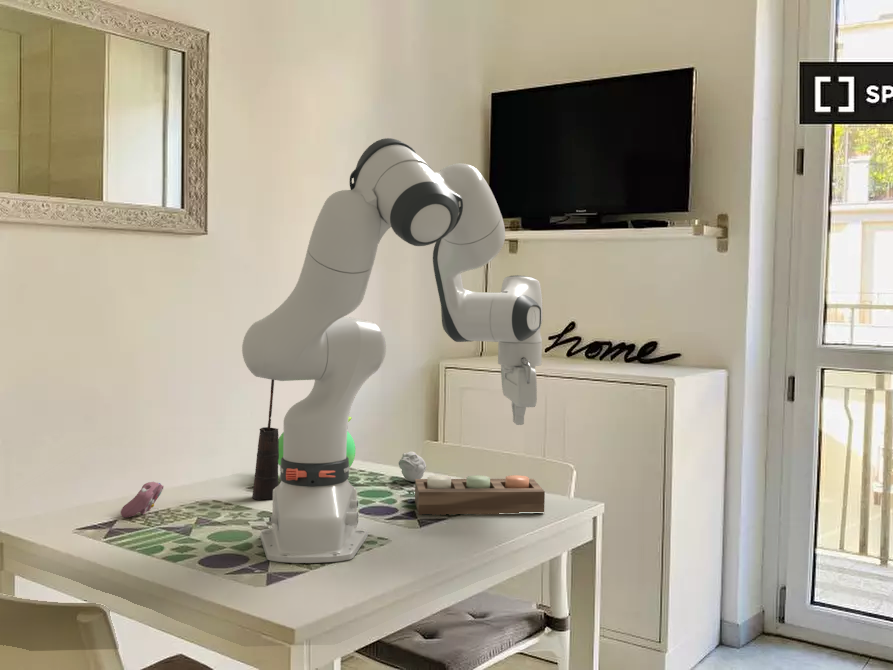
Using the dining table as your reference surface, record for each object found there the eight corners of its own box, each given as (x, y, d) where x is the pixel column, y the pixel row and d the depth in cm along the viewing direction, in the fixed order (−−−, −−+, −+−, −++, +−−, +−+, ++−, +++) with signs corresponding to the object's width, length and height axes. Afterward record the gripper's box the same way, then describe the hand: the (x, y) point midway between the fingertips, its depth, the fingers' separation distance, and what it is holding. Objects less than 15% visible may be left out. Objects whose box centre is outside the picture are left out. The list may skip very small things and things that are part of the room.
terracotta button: (530, 492, 182) (531, 480, 182) (507, 492, 181) (507, 480, 181) (526, 487, 186) (526, 475, 186) (503, 487, 186) (503, 475, 186)
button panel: (544, 514, 179) (544, 491, 178) (418, 514, 176) (418, 492, 176) (532, 499, 190) (533, 478, 190) (414, 500, 188) (415, 479, 188)
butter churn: (260, 506, 180) (261, 367, 179) (230, 499, 186) (231, 364, 185) (295, 498, 188) (296, 365, 186) (265, 491, 194) (266, 362, 192)
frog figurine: (392, 482, 205) (392, 452, 205) (411, 477, 211) (411, 447, 210) (413, 486, 201) (413, 455, 201) (432, 481, 207) (432, 450, 207)
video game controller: (139, 526, 170) (155, 494, 170) (117, 515, 170) (134, 483, 170) (155, 513, 180) (171, 482, 180) (134, 503, 180) (150, 472, 179)
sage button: (491, 492, 181) (491, 480, 181) (467, 492, 180) (468, 480, 180) (488, 487, 186) (488, 475, 186) (465, 487, 185) (465, 475, 185)
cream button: (452, 492, 180) (452, 480, 180) (428, 492, 180) (428, 480, 180) (449, 487, 185) (449, 475, 185) (426, 487, 184) (426, 475, 184)
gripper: (545, 360, 172) (543, 432, 173) (526, 352, 193) (524, 416, 193) (513, 360, 172) (511, 432, 172) (497, 352, 192) (495, 416, 193)
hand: (518, 423), depth 183 cm, fingers closed
